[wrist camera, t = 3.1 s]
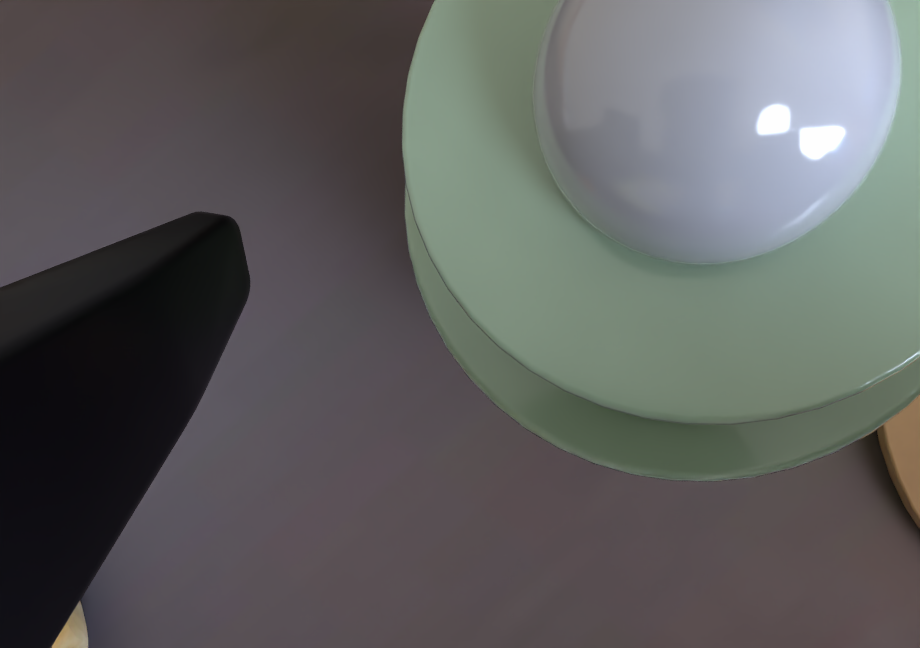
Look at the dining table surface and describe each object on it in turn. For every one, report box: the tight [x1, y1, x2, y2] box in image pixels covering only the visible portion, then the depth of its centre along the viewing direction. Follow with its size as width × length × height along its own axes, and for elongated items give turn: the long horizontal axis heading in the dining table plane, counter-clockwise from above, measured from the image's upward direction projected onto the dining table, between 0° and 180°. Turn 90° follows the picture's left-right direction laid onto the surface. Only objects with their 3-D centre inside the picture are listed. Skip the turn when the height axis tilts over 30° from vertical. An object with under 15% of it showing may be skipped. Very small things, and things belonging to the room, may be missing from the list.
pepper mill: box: [402, 0, 920, 482], centre depth 10 cm, size 5×5×13 cm
